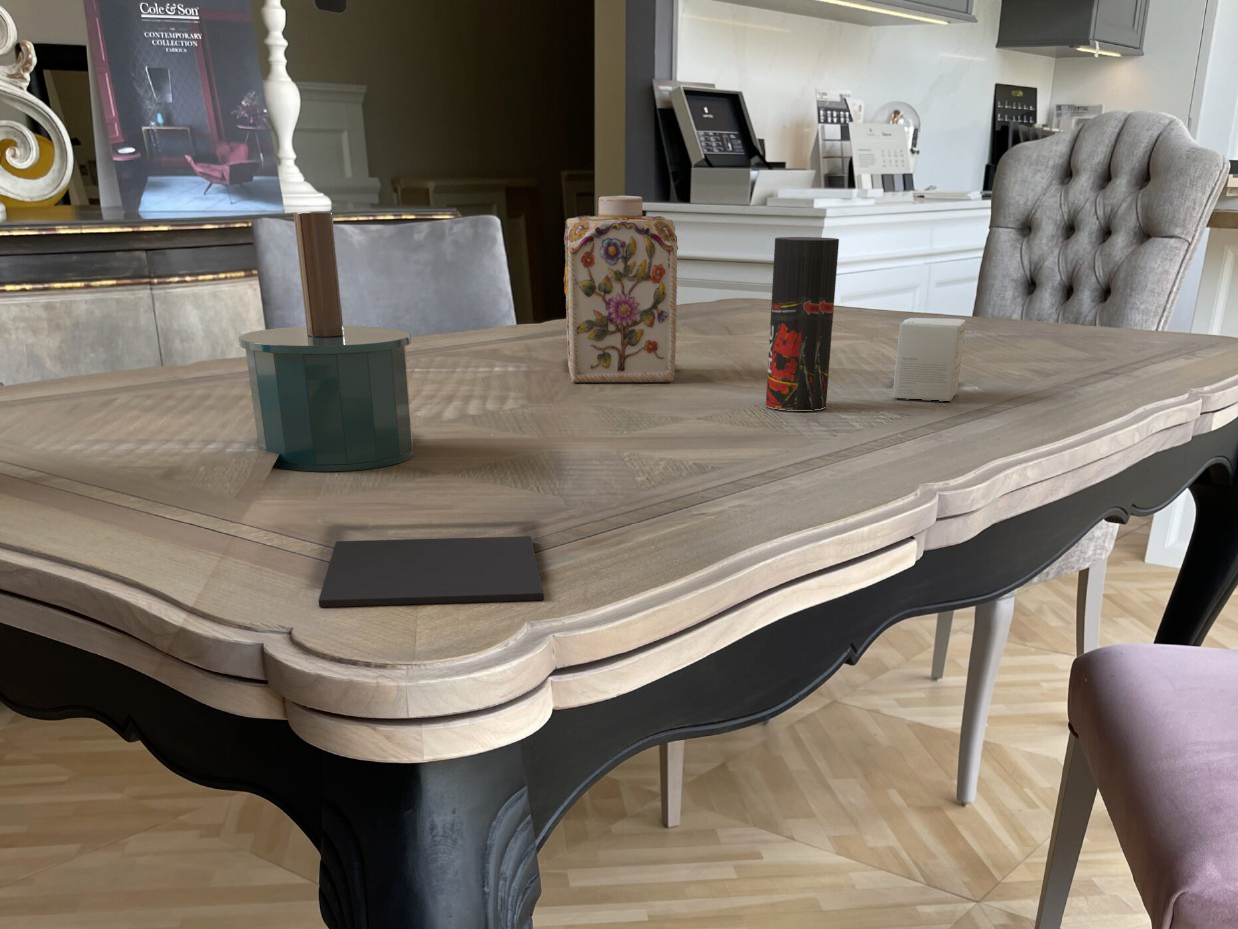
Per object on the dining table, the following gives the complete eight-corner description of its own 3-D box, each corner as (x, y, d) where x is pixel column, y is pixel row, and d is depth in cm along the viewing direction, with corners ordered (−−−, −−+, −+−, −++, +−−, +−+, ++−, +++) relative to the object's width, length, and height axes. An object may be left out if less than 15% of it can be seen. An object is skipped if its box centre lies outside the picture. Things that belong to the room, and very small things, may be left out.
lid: (228, 364, 91) (207, 214, 86) (252, 342, 102) (235, 209, 97) (409, 362, 92) (398, 216, 88) (413, 340, 104) (404, 210, 99)
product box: (951, 403, 126) (960, 325, 123) (890, 399, 128) (898, 322, 124) (957, 394, 131) (967, 319, 128) (899, 390, 133) (907, 316, 130)
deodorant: (837, 409, 122) (851, 240, 115) (784, 413, 120) (795, 240, 113) (806, 400, 127) (817, 236, 120) (754, 404, 125) (763, 237, 118)
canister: (251, 473, 95) (235, 354, 91) (271, 442, 105) (257, 335, 101) (411, 470, 96) (402, 353, 92) (414, 440, 107) (406, 333, 103)
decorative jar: (666, 368, 146) (670, 195, 138) (676, 383, 136) (681, 198, 127) (564, 368, 146) (561, 194, 137) (567, 384, 135) (564, 197, 127)
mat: (319, 607, 66) (318, 600, 66) (336, 547, 77) (335, 541, 77) (543, 600, 68) (543, 593, 68) (531, 542, 78) (530, 536, 78)
